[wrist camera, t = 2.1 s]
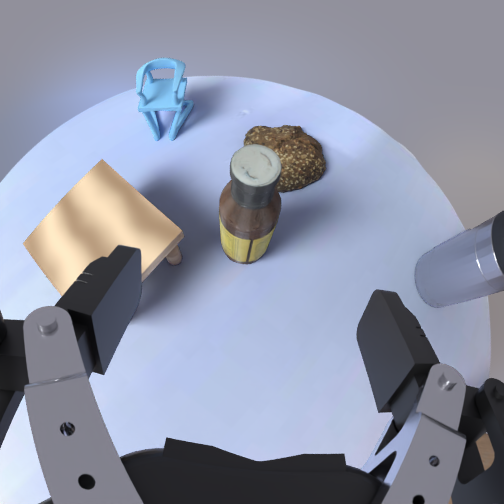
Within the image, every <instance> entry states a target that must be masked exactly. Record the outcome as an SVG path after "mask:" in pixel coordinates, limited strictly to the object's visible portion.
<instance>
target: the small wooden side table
mask: <svg viewBox="0 0 504 504" xmlns="http://www.w3.org/2000/svg"><path fill="white" fill-rule="evenodd" d="M183 238H184V234H183V231H182V230H181V229H180V228H179V227H178V226H177V225H175V224H174V223H173V222H172V221H171V220H170V219H169V218H167V217H166V216H165V215H164V214H163V213H162V212H161V211H159V210H158V209H157V208H156V207H155V206H154V205H153V204H151V203H150V202H149V201H148V200H147V199H146V198H145V197H144V196H142V195H141V194H140V193H139V192H138V191H137V190H136V189H135V188H134V187H132V186H131V185H130V184H129V183H128V182H127V181H126V180H125V179H124V178H122V177H121V176H120V175H119V174H118V173H117V172H116V171H115V170H114V169H112V168H111V167H110V166H109V165H108V164H107V163H106V162H105V161H104V160H103V159H102V160H101V161H100V162H98V163H97V164H96V165H95V166H94V167H93V168H92V169H91V170H90V171H89V172H88V173H87V174H86V175H85V176H84V177H83V178H82V179H81V180H80V181H79V182H78V183H77V184H76V185H75V186H74V187H73V188H72V189H71V190H70V191H69V192H68V193H67V194H66V195H65V196H64V197H63V198H62V199H61V200H60V201H59V203H58V204H57V205H56V206H55V207H54V208H53V209H52V210H51V211H50V212H49V213H48V215H47V216H46V217H45V218H44V219H43V220H42V221H41V223H40V224H39V225H38V226H37V227H36V228H35V230H34V231H33V232H32V233H31V234H30V236H29V237H28V238H27V239H26V240H25V242H24V243H23V245H24V246H25V248H26V249H27V250H28V252H29V253H30V255H31V256H32V258H33V259H34V260H35V262H36V263H37V264H38V266H39V267H40V269H41V270H42V271H43V273H44V274H45V275H46V277H47V278H48V279H49V280H50V282H51V283H52V284H53V286H54V287H55V288H56V289H57V291H58V292H59V293H60V294H61V296H63V295H64V293H65V292H66V291H67V290H68V288H69V287H70V286H71V285H72V284H73V282H74V281H76V279H77V278H78V276H79V275H80V274H82V272H83V271H84V269H85V268H86V267H87V266H88V265H89V264H90V263H91V262H93V261H94V260H96V259H98V258H100V257H102V256H103V257H108V256H109V255H110V254H111V252H112V251H113V250H114V249H115V248H116V247H117V246H118V245H124V246H129V247H135V248H139V249H140V250H141V256H142V257H141V268H142V282H143V281H144V280H145V279H146V278H147V277H148V275H149V274H150V273H151V272H152V271H153V270H154V269H155V268H156V267H157V266H158V265H159V263H160V262H161V261H162V260H163V259H164V258H165V257H166V259H167V260H168V262H169V263H170V264H172V265H178V264H179V263H180V262H181V261H182V255H181V252H180V250H179V247H178V245H177V244H178V243H179V242H180V241H181V240H182V239H183Z"/></svg>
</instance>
